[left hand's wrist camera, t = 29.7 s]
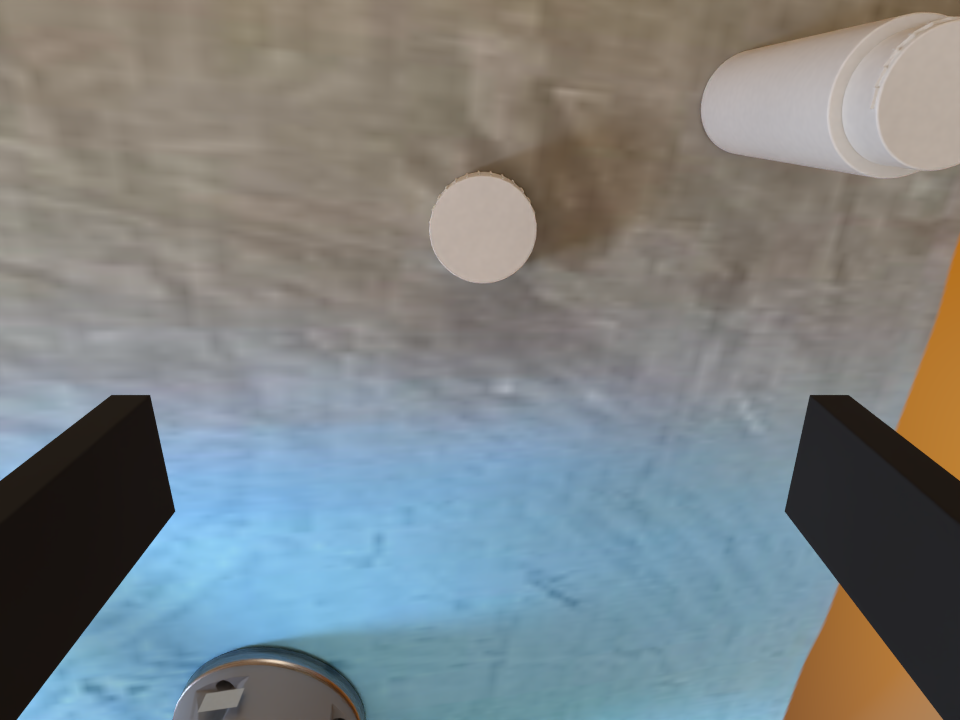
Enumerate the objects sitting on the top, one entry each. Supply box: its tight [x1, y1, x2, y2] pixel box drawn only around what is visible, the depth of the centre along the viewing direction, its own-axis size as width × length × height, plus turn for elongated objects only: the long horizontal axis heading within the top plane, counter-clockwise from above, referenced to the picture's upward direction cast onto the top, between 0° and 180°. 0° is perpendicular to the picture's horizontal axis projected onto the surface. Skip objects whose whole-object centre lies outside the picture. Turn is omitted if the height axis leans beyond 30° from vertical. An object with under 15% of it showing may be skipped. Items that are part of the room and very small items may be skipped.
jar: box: [701, 12, 960, 179], centre depth 27 cm, size 5×5×16 cm
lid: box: [429, 171, 537, 283], centre depth 36 cm, size 6×6×2 cm
